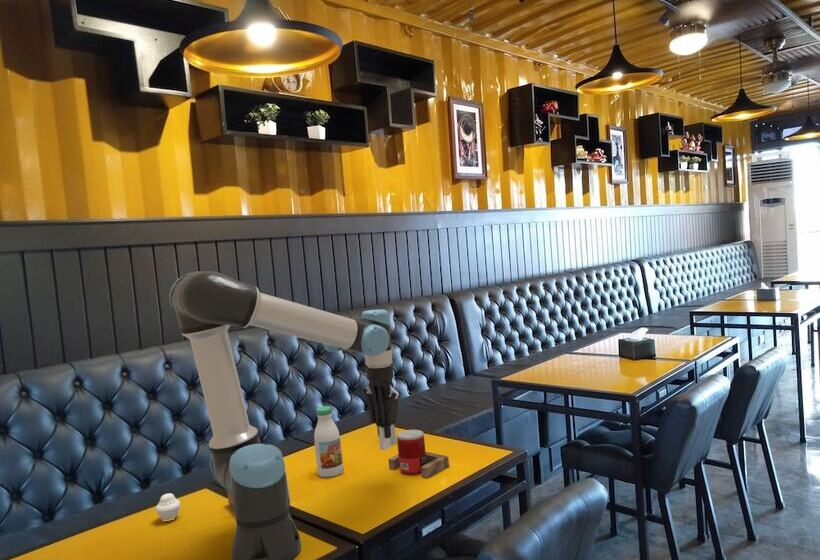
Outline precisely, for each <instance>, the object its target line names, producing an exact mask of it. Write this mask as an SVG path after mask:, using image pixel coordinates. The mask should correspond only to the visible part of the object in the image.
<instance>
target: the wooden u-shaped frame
mask: <svg viewBox="0 0 820 560" xmlns="http://www.w3.org/2000/svg"><path fill="white" fill-rule="evenodd" d="M425 452H426V463H427V464H426V465H424V466H422V467H421V471H422V473H421V477H422V478H423V477H424V478H425V479H429V478H432V477H433V476H434V474H435V475H436V474H438V473H441V472H442V471H443V470H445V469H447V468H449V467H450V459H449V456H448V455H443V454H439V453H434V452H430V451H429V452H428V451H425ZM388 469H389V470H392V471H395V470H397V469H400V464H399V454H396V455H394V456H392V457H390V458H388Z"/></svg>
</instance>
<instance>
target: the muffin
mask: <svg viewBox="0 0 820 560" xmlns="http://www.w3.org/2000/svg"><path fill="white" fill-rule="evenodd" d="M180 510H181V501H180V500H179V499H177V498H176V497H175V495H174V494H173V493H170V492H169V493H165V494H163V495H161V497H160V499H159V501H158V504H157V505H156V506H155V512H156V513H157V515H158V517H159V518H160V519H161V520H162V521H163V520H169V519H173V518H175V517H176V516H177V517H178V514H179V511H180ZM177 517H176V518H177Z"/></svg>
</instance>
